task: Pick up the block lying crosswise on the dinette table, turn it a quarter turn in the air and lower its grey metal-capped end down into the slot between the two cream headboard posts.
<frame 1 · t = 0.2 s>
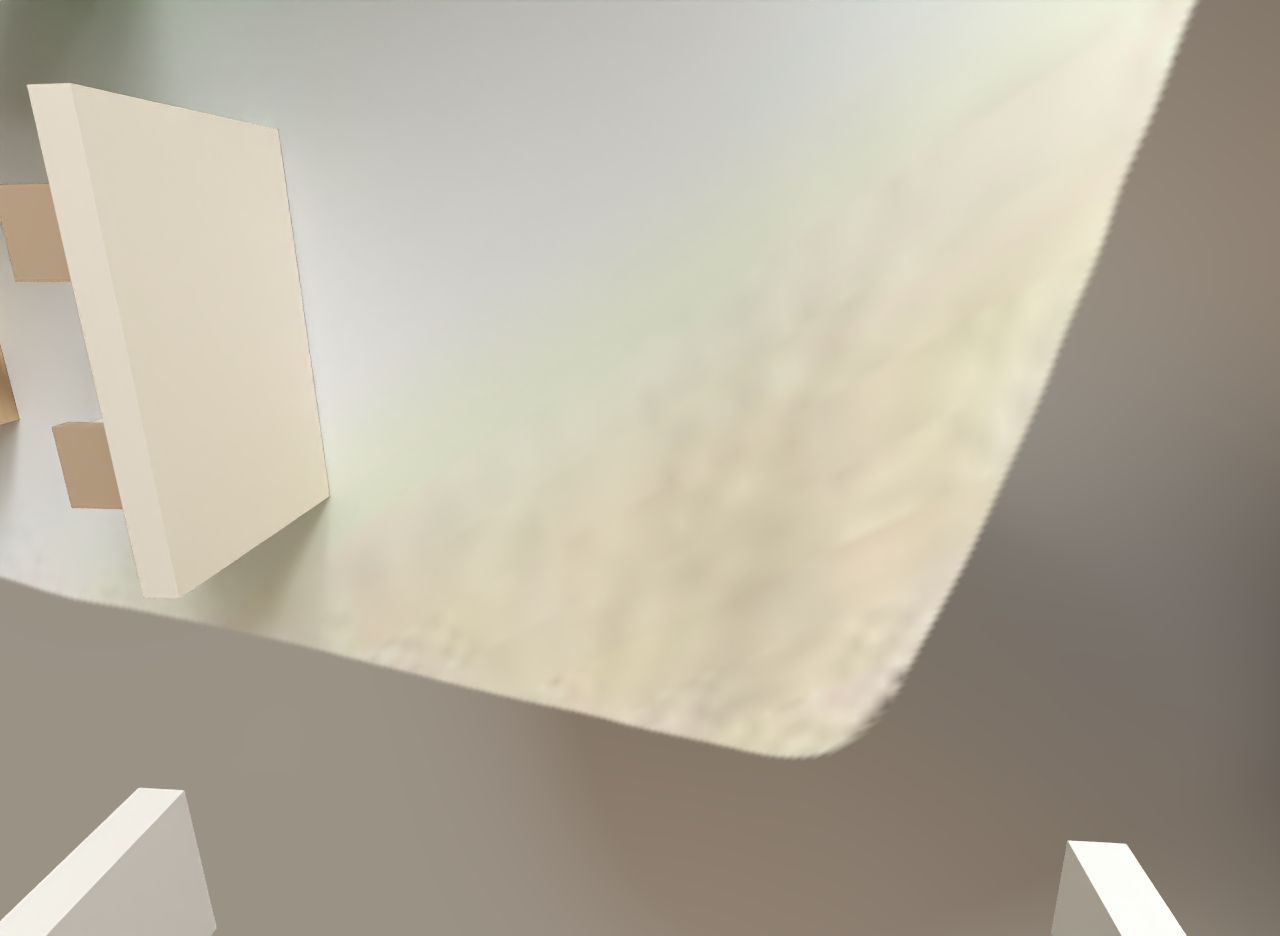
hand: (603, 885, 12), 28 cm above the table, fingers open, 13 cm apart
headboard: (230, 325, 39), on the table
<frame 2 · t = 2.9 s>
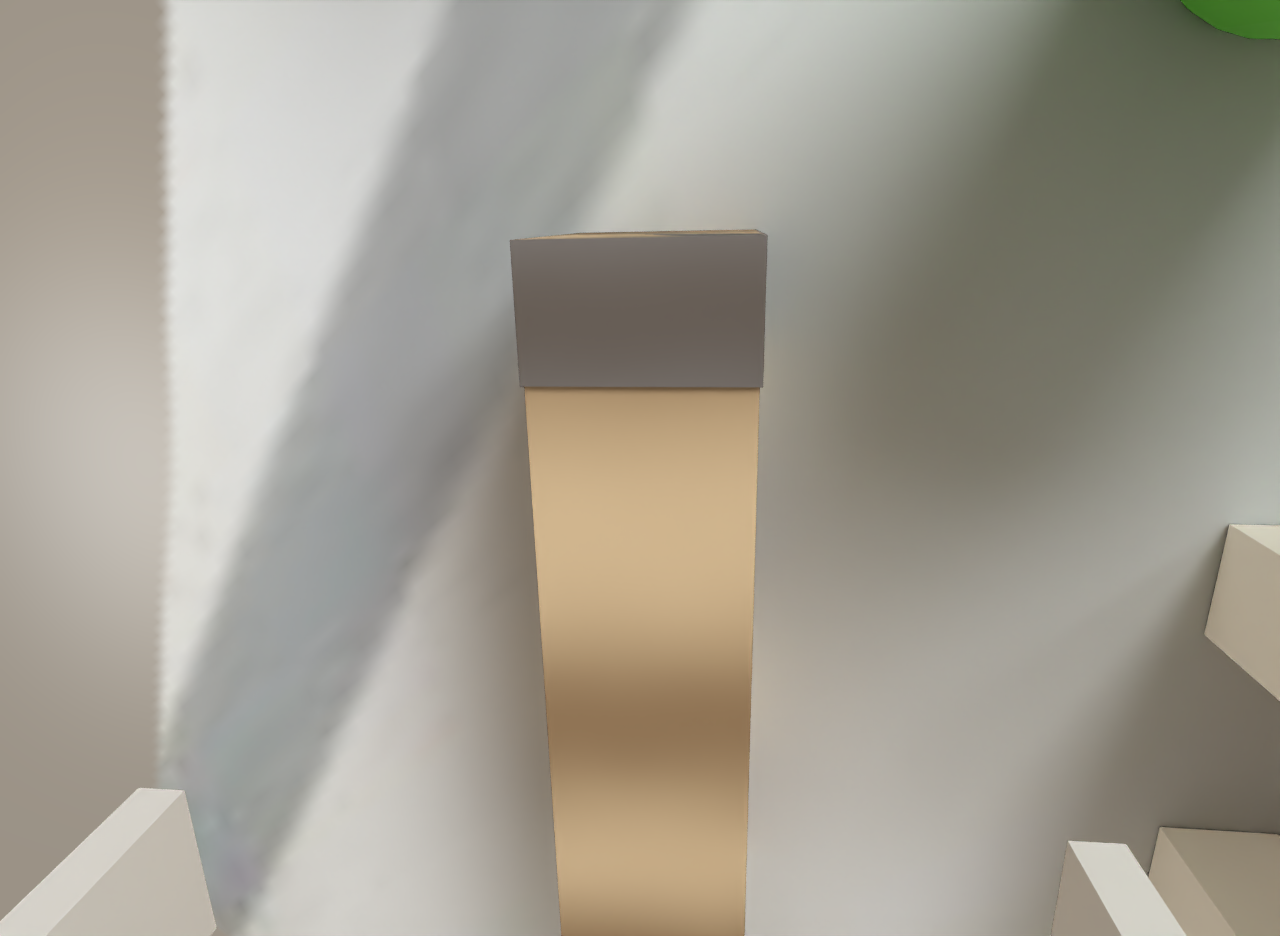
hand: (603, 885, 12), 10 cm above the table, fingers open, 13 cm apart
headboard: (1242, 738, 20), on the table
block: (670, 581, 21), on the table
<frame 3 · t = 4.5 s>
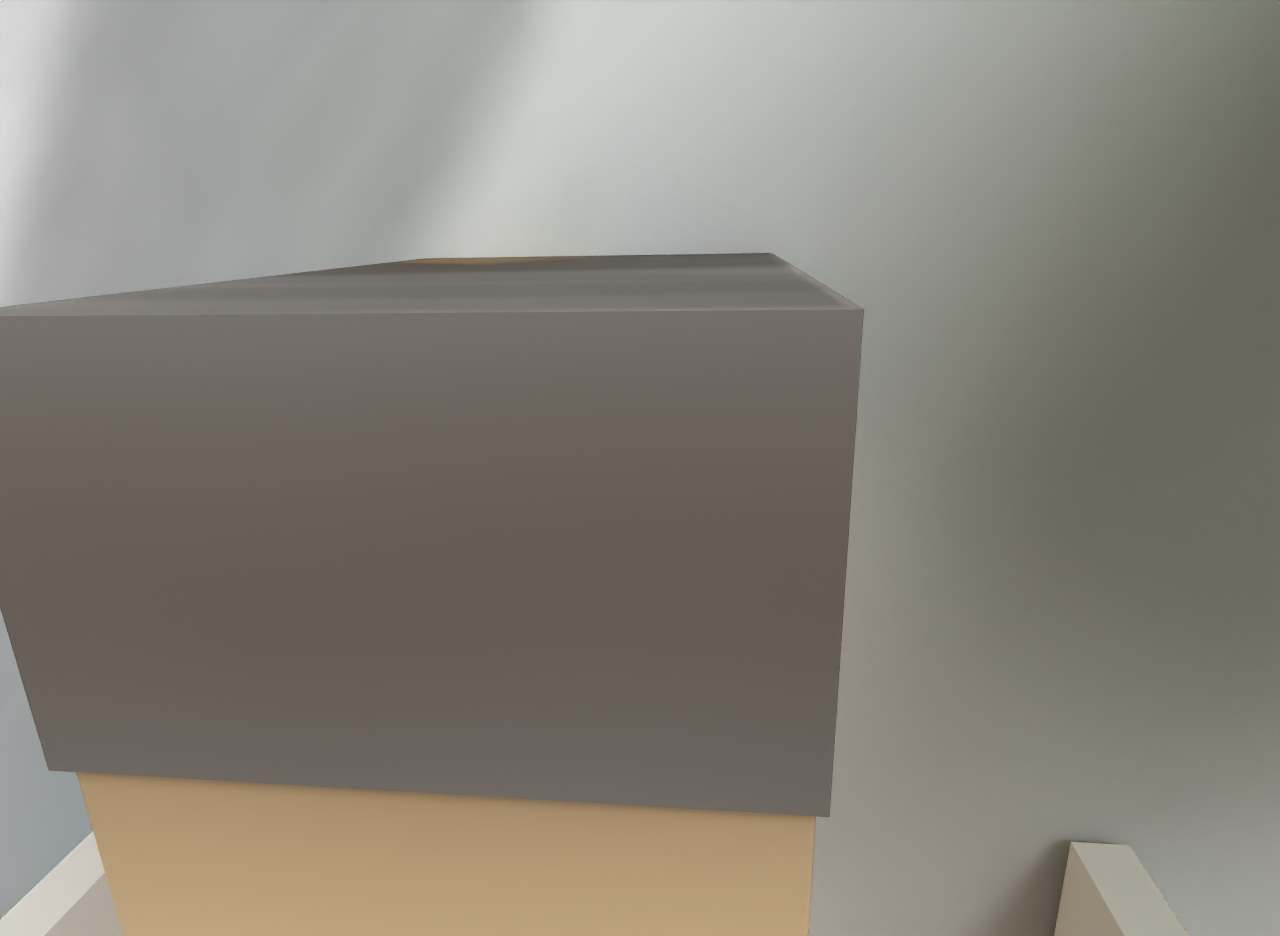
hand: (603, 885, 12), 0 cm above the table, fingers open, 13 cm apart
block: (615, 870, 12), on the table
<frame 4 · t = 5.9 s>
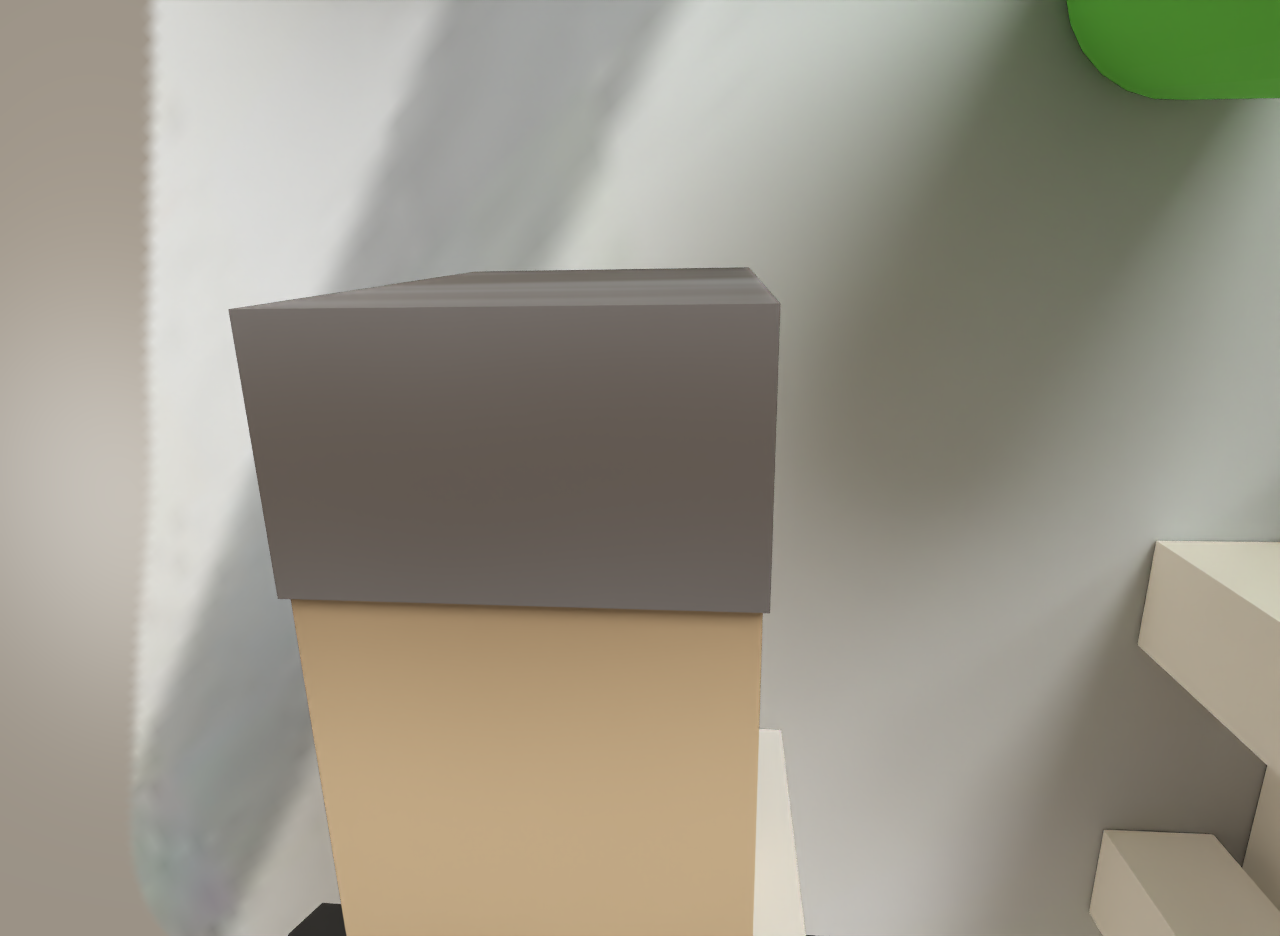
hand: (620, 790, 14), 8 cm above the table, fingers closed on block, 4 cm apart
headboard: (1176, 742, 21), on the table
block: (624, 779, 14), point 8 cm above the table, touching gripper
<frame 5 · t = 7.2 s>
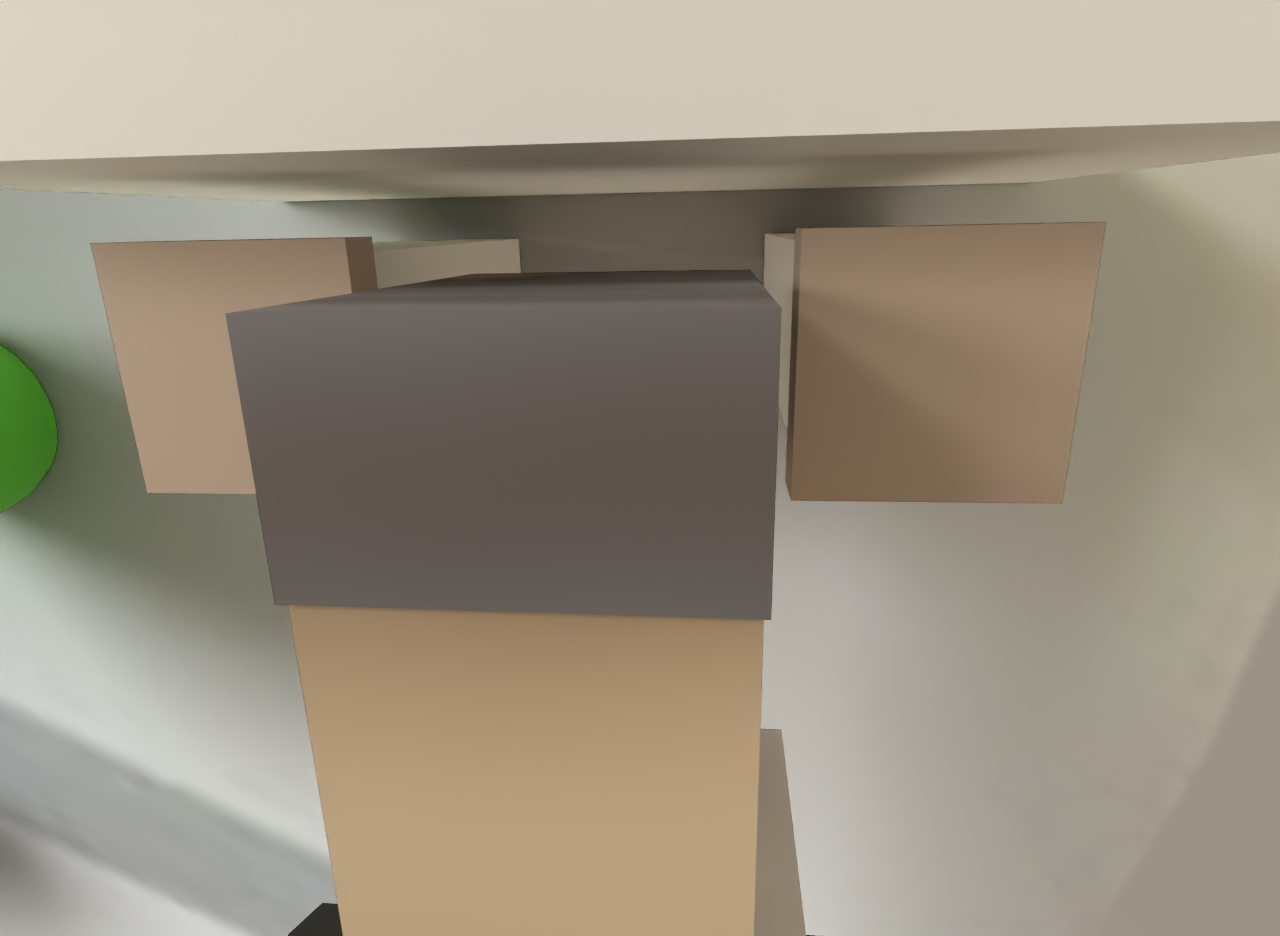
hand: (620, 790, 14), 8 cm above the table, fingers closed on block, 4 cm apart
headboard: (641, 299, 19), on the table
block: (624, 783, 14), point 8 cm above the table, touching gripper
when the fingers open (0 cm above the table, at t = 9.1 s): block stays where it is, on the table.
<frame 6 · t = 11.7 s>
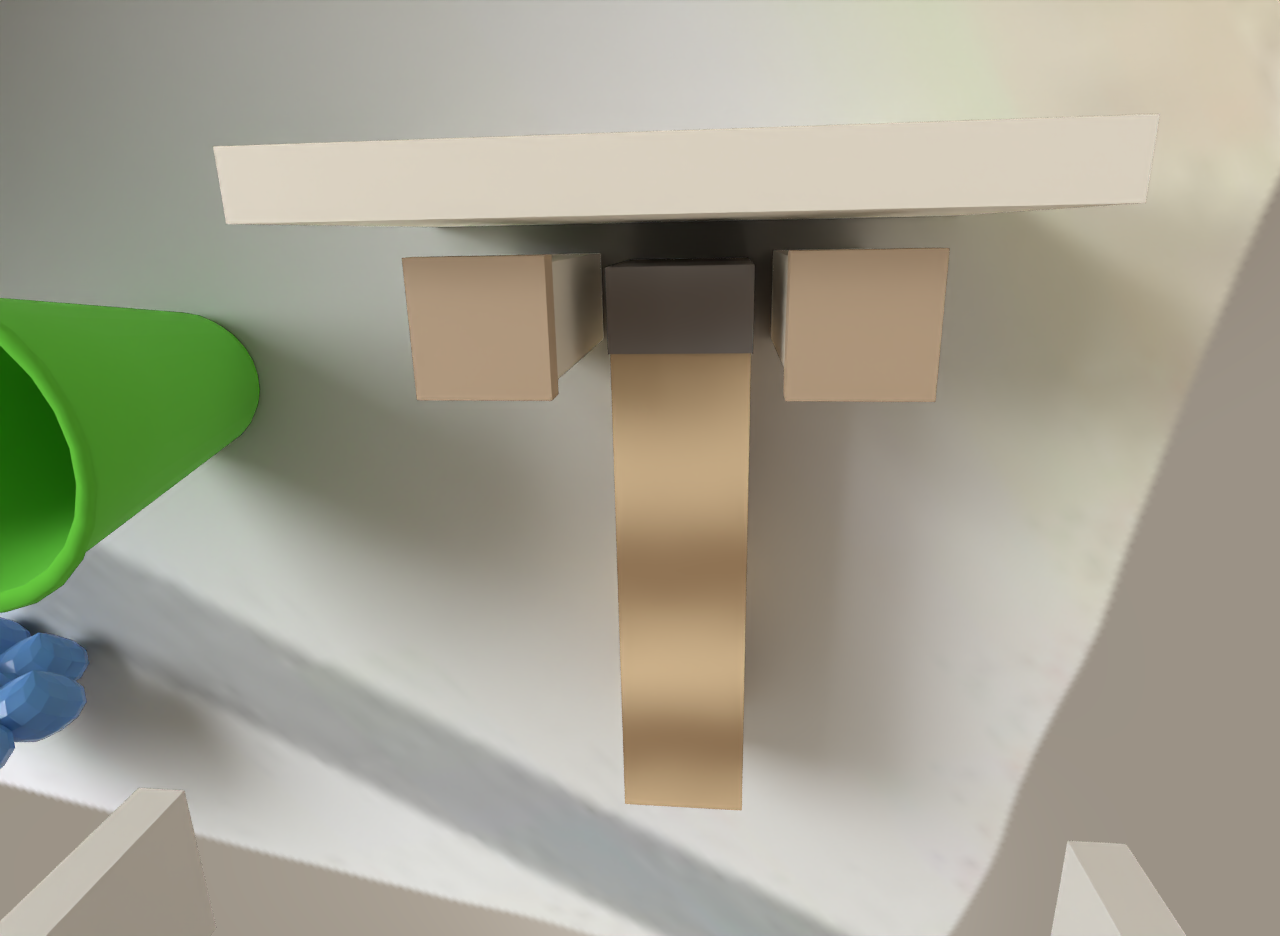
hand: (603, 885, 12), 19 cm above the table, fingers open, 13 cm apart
headboard: (686, 295, 27), on the table
cup: (203, 378, 30), on the table
block: (689, 501, 29), on the table
grapes: (26, 647, 35), on the table
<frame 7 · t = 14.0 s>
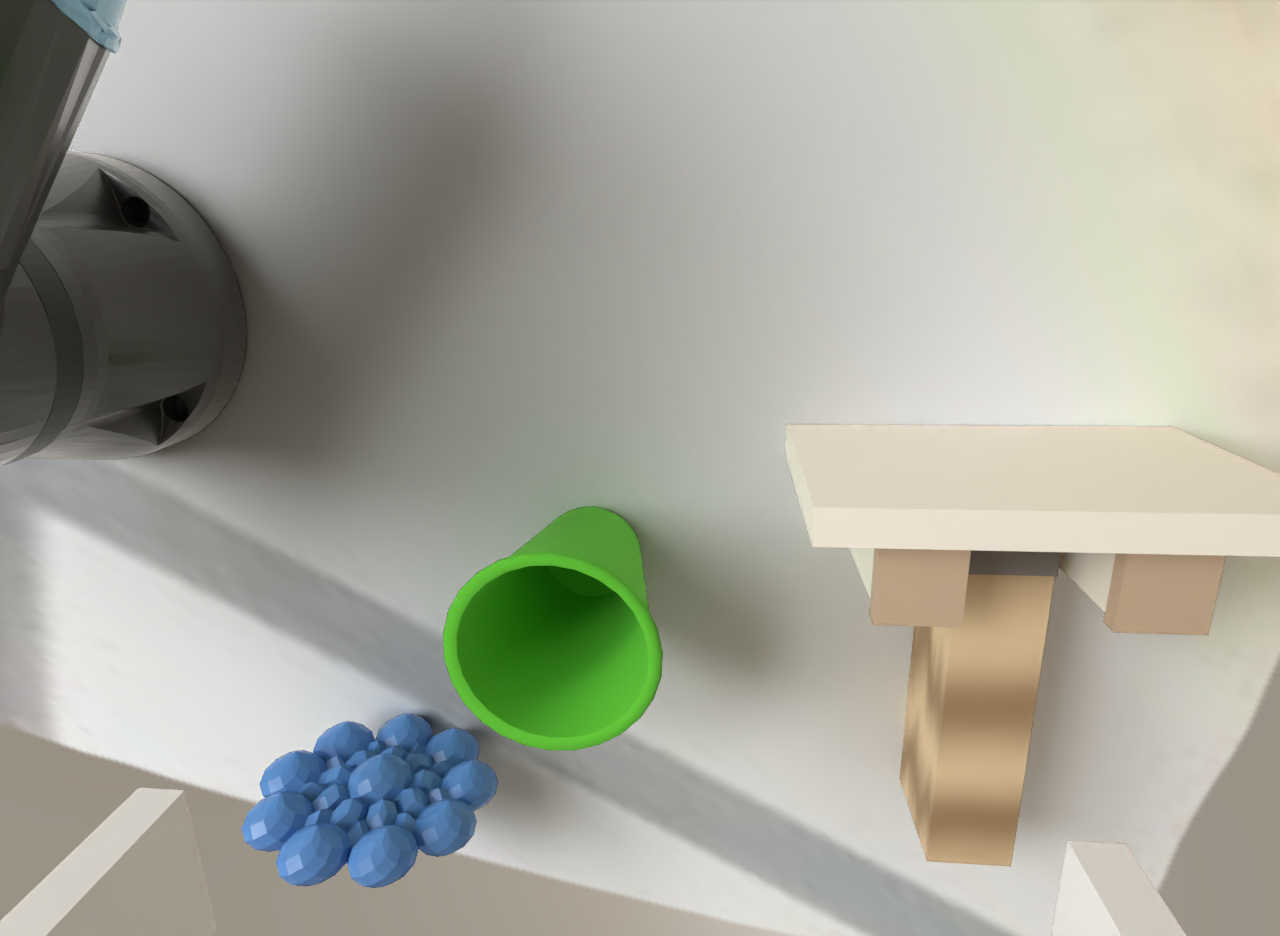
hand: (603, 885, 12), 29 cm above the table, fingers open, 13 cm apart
headboard: (965, 502, 39), on the table
cup: (593, 548, 42), on the table
block: (951, 639, 41), on the table
grapes: (419, 733, 46), on the table
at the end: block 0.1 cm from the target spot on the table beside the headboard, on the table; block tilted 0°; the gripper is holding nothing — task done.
